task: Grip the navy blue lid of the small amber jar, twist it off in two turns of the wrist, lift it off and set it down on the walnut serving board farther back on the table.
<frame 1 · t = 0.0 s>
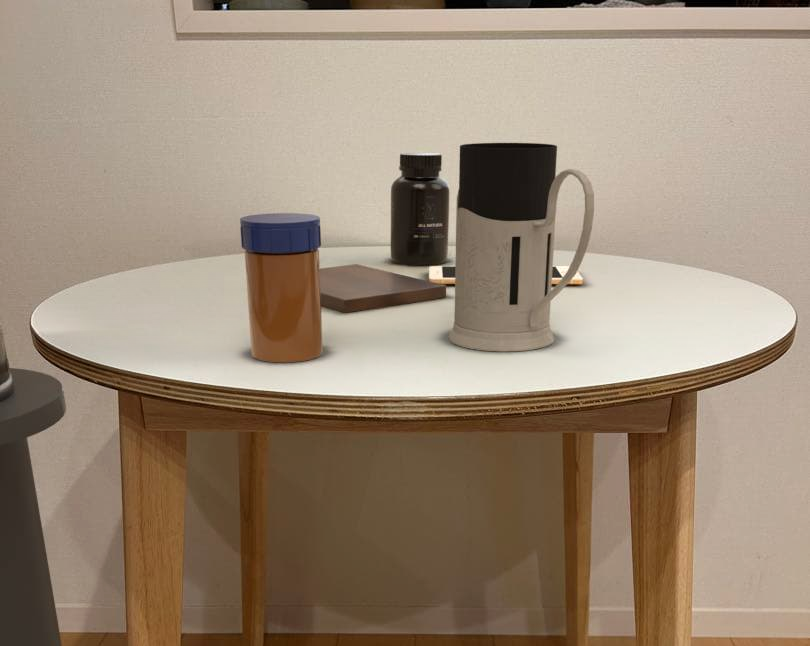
jar: (287, 353, 80), on the table
serving board: (351, 292, 103), on the table
glass holder: (521, 347, 82), on the table
cell phone: (503, 279, 109), on the table
jar lid: (280, 223, 76), point 10 cm above the table, screwed on, not yet turned
supplement bottle: (419, 263, 120), on the table
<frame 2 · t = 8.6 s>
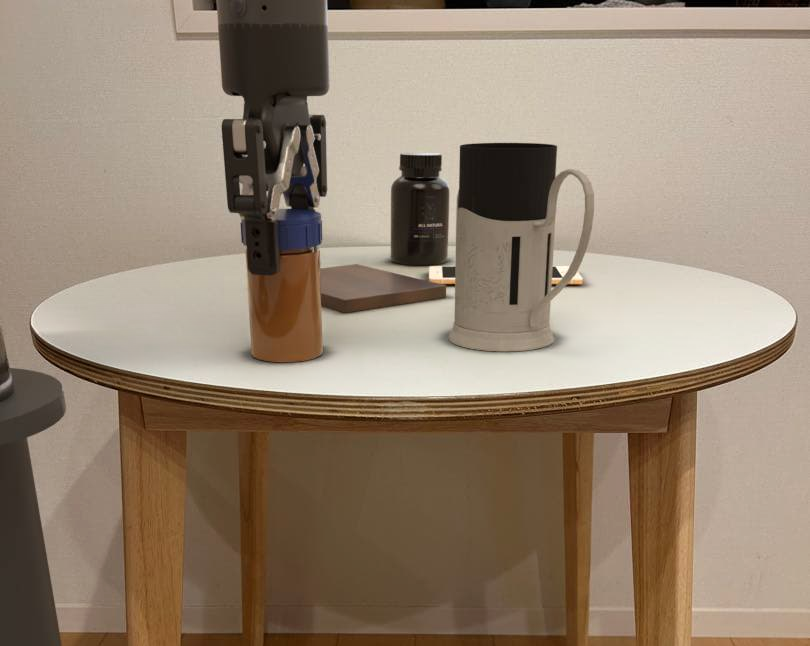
hand: (284, 265, 76), 7 cm above the table, tool pointing down, fingers open, 7 cm apart
jar lid: (281, 219, 75), point 10 cm above the table, turned 83° so far, risen 0.2 cm, still on its thread, touching gripper
everything else where it was.
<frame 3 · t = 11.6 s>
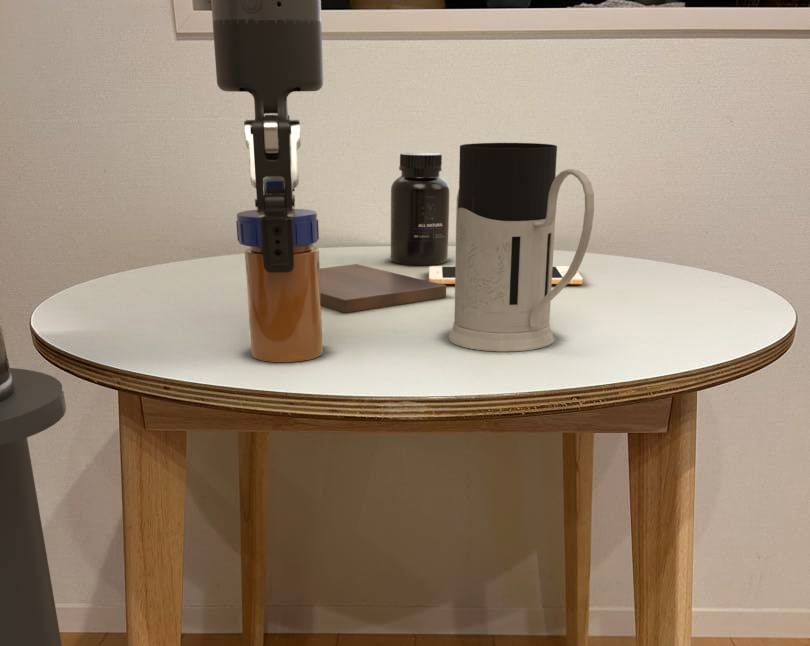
hand: (279, 263, 77), 7 cm above the table, tool pointing down, fingers closed on jar lid, 6 cm apart
jar: (287, 353, 80), on the table, touching gripper
jar lid: (277, 218, 76), point 10 cm above the table, off its thread, touching gripper
everything else where it was.
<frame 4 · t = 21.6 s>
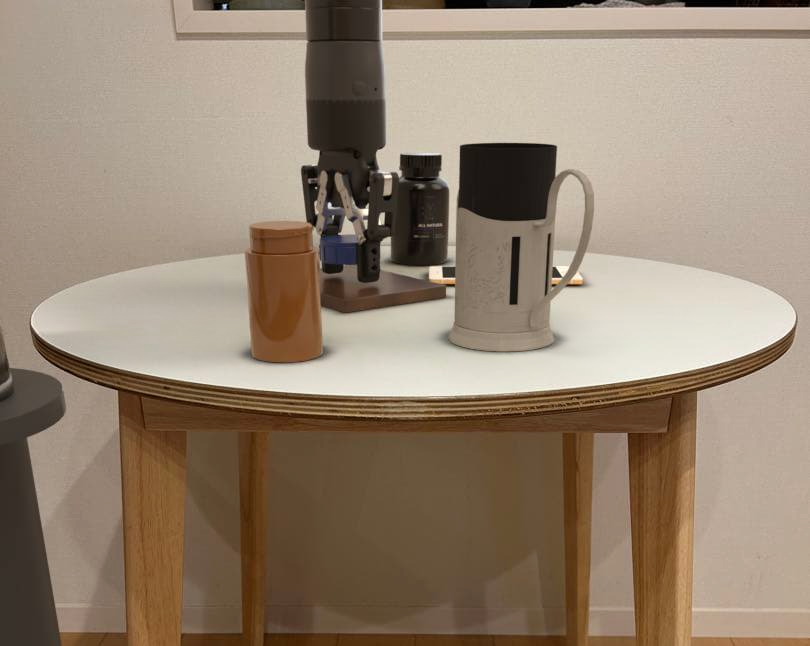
hand: (350, 276, 102), 2 cm above the table, tool pointing down, fingers closed on jar lid, 6 cm apart
jar: (287, 353, 80), on the table
jar lid: (349, 242, 101), point 5 cm above the table, off its thread, touching gripper
everything else where it was.
when the fingers open (2 cm above the table, at t = 28.4 s): jar lid drops 2 cm, resting on serving board.
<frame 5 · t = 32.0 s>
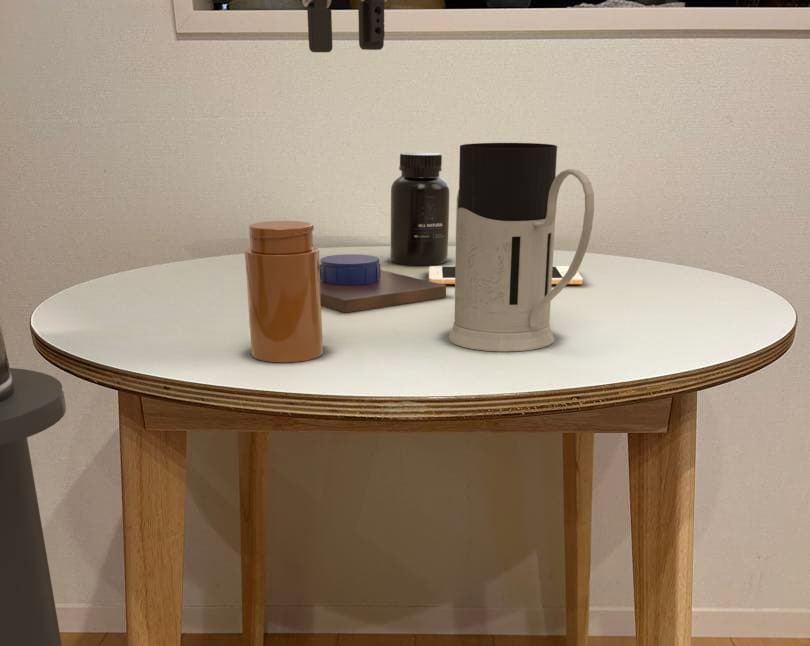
hand: (345, 51, 93), 22 cm above the table, tool pointing down, fingers open, 8 cm apart
jar lid: (350, 263, 101), point 3 cm above the table, off its thread, touching serving board
everything else where it was.
at the end: jar lid came off its thread; jar lid inside the target area on the serving board (0.1 cm from its centre), point 2.9 cm above the serving board's base; the gripper is holding nothing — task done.
